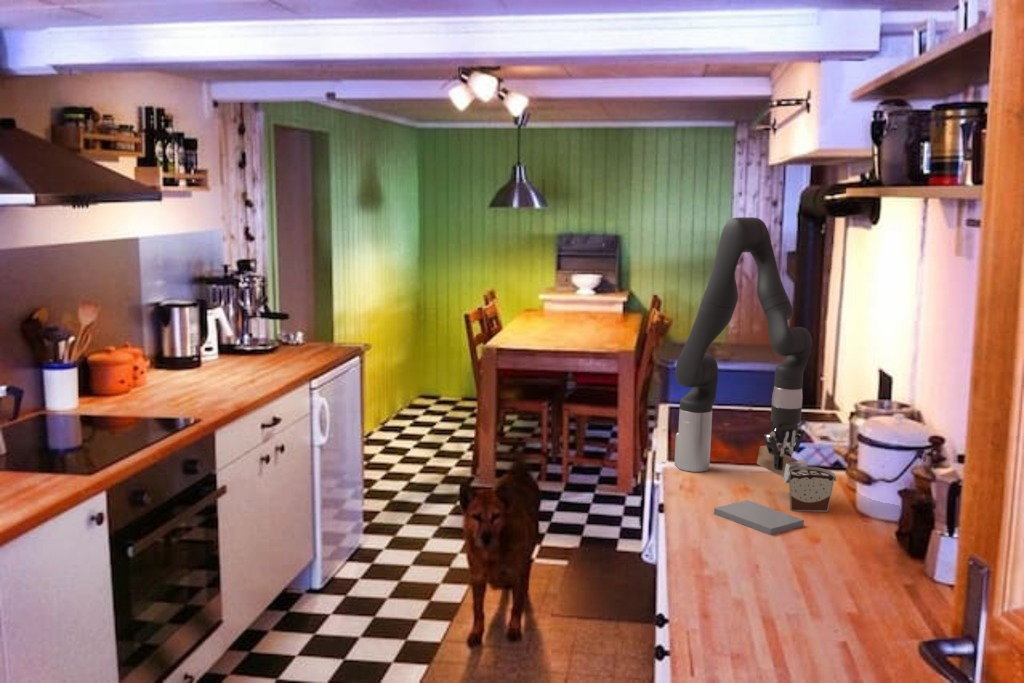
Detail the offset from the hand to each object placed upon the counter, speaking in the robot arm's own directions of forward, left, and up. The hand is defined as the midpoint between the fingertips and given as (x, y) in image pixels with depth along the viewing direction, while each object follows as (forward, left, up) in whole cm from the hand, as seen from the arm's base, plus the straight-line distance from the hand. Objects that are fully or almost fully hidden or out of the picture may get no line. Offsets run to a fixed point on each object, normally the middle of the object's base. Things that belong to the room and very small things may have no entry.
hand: (781, 468), depth 269 cm
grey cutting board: (+8, -18, -8) cm, 21 cm away
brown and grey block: (-2, 0, -1) cm, 2 cm away
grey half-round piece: (+8, 0, -8) cm, 12 cm away
